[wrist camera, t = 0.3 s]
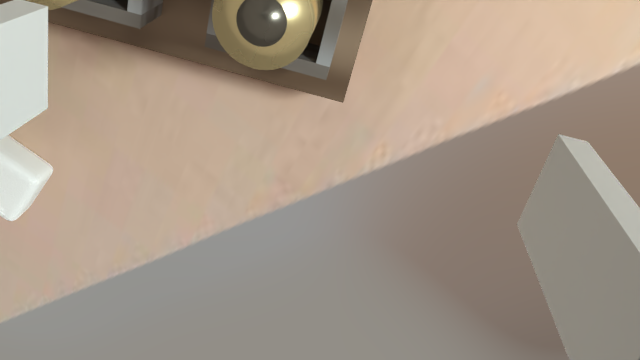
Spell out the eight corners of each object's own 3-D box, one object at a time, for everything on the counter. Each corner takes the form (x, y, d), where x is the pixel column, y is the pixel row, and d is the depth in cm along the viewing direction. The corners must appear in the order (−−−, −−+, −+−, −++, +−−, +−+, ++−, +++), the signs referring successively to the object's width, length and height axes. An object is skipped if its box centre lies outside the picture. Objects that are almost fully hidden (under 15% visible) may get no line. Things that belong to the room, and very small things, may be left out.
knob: (244, -58, 31) (220, -45, 26) (332, -33, 31) (323, -17, 26) (229, 30, 33) (204, 56, 28) (311, 53, 33) (299, 82, 29)
